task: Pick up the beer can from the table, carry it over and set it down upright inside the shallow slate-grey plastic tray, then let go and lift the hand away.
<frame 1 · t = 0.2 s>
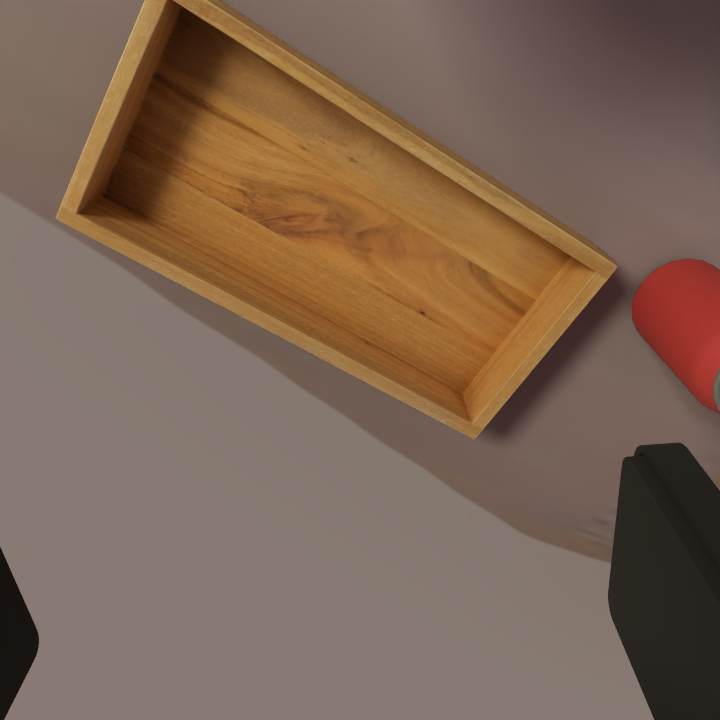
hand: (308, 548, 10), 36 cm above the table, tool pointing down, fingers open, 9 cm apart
tray: (344, 217, 45), on the table
beer can: (674, 298, 48), on the table
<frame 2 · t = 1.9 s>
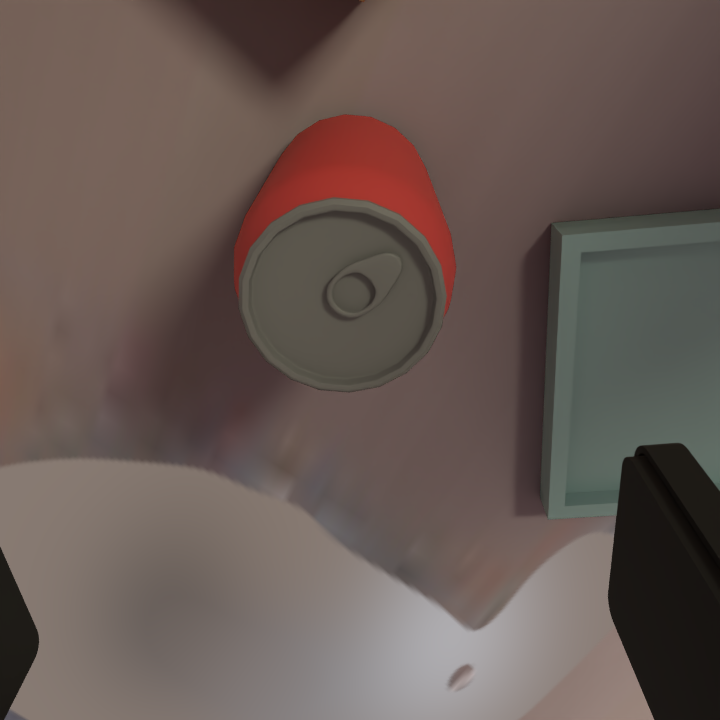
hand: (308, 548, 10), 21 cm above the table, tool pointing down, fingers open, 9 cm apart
slate tray: (703, 362, 32), on the table
beer can: (351, 193, 29), on the table
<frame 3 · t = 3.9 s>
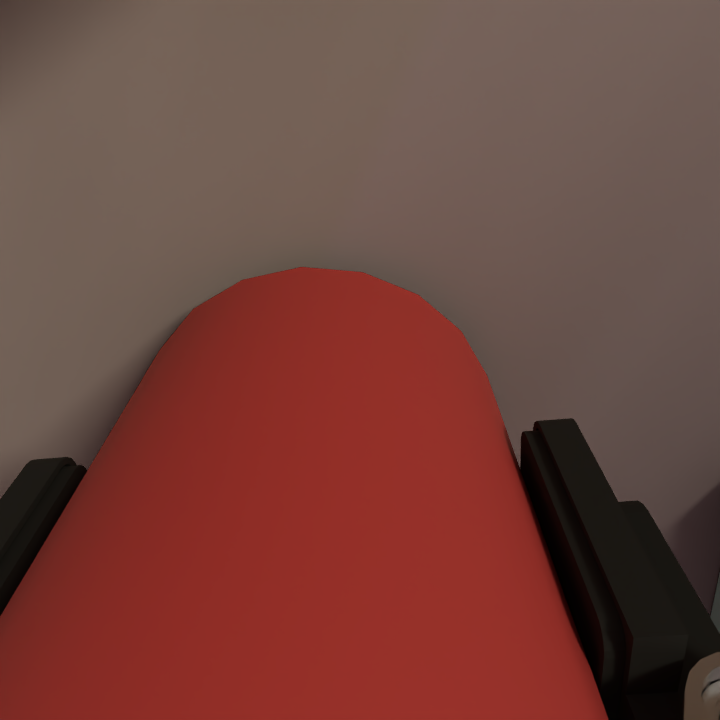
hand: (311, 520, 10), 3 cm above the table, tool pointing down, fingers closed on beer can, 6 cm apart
beer can: (322, 408, 13), on the table, touching gripper
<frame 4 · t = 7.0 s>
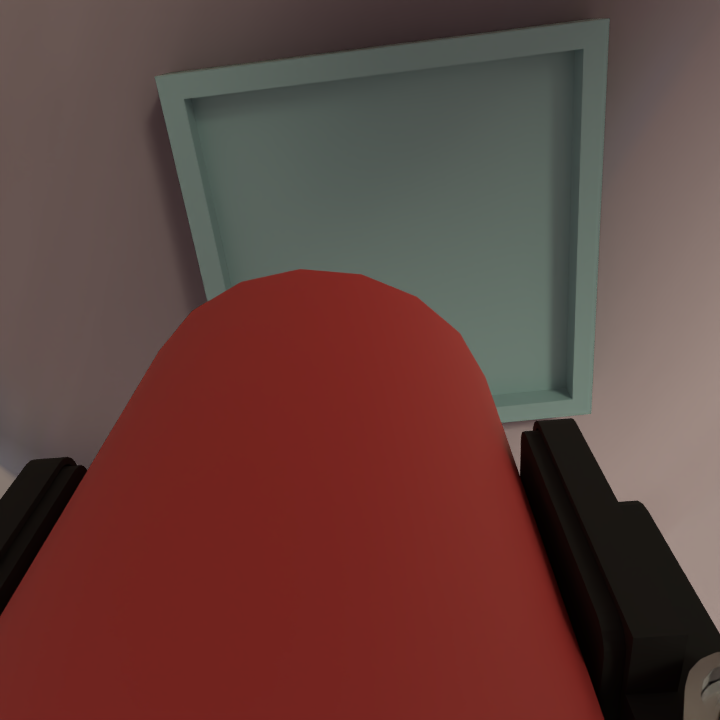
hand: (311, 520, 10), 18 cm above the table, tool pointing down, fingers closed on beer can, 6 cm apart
slate tray: (396, 250, 27), on the table
beer can: (321, 410, 13), point 14 cm above the table, touching gripper
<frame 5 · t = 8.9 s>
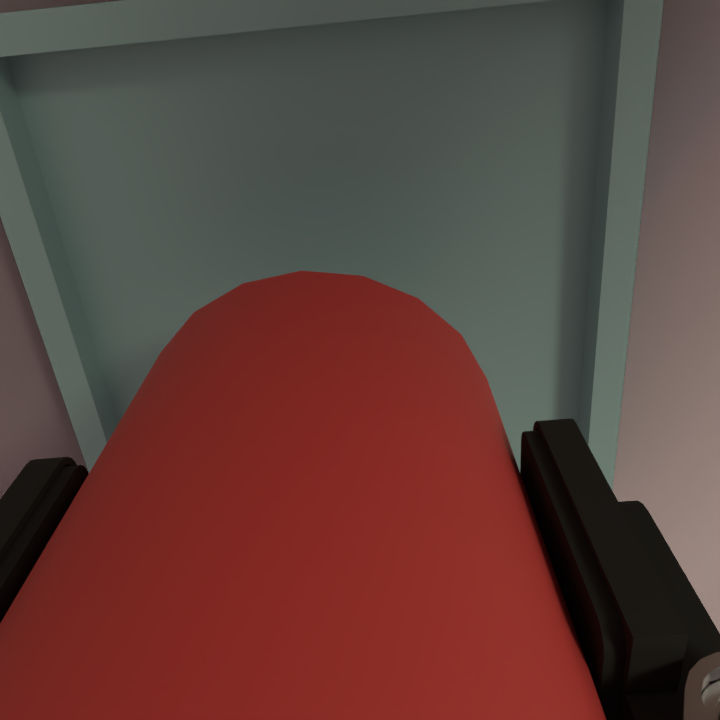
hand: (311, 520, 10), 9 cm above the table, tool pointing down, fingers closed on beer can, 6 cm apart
slate tray: (335, 294, 19), on the table
beer can: (322, 411, 13), point 6 cm above the table, touching gripper
when the fingers open (5 cm above the table, at t = 10.2 s): beer can drops 1 cm, resting on slate tray.
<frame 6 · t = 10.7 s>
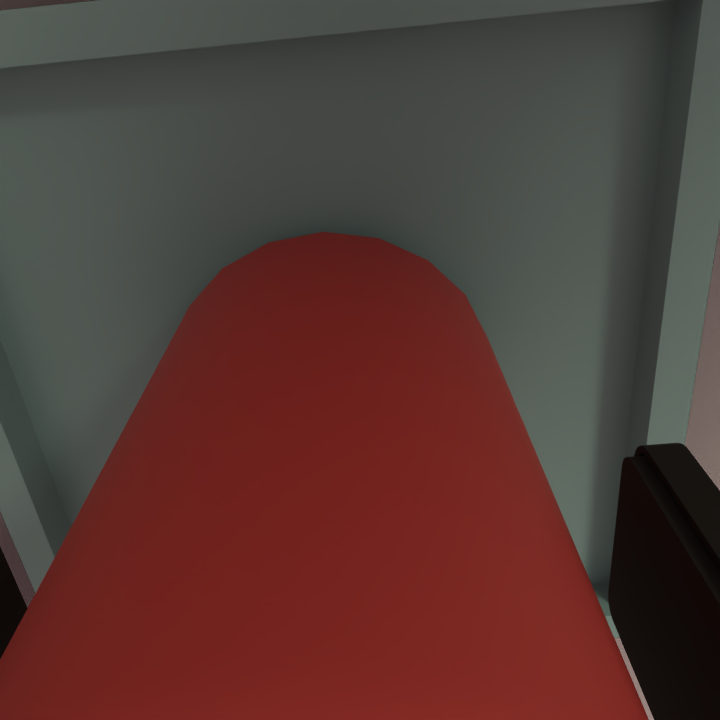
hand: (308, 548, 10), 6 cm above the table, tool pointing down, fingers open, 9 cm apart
slate tray: (326, 361, 15), on the table
beer can: (333, 367, 15), point 1 cm above the table, touching slate tray
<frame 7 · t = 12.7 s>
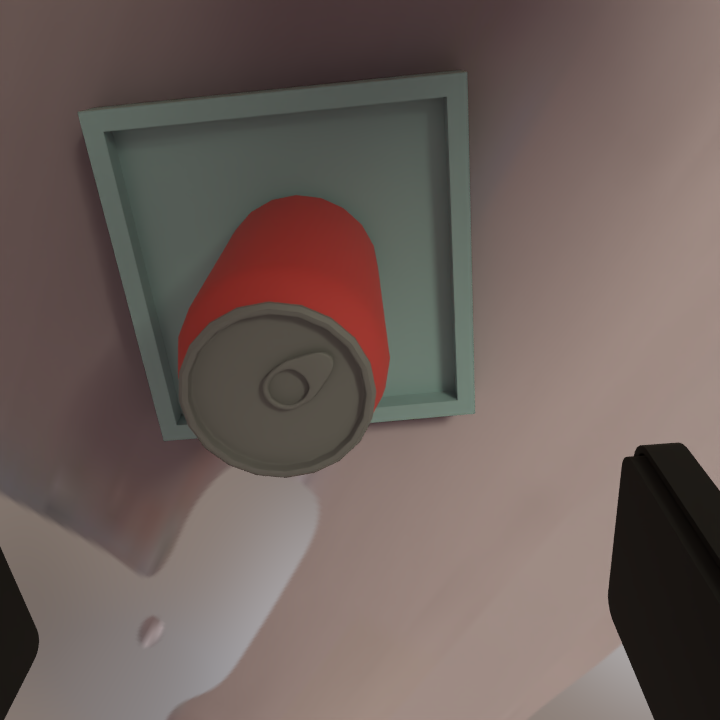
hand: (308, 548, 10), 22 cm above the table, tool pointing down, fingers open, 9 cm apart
slate tray: (300, 265, 30), on the table
beer can: (303, 265, 30), point 1 cm above the table, touching slate tray
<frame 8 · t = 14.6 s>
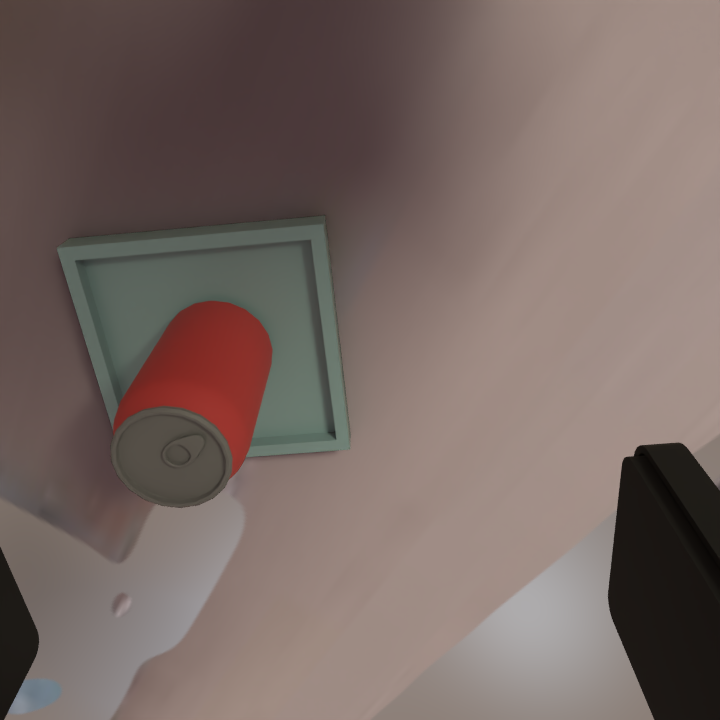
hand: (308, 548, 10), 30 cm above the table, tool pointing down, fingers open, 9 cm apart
slate tray: (220, 343, 42), on the table
beer can: (221, 344, 41), point 1 cm above the table, touching slate tray
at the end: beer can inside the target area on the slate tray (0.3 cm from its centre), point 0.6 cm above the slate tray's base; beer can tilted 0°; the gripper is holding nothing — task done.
